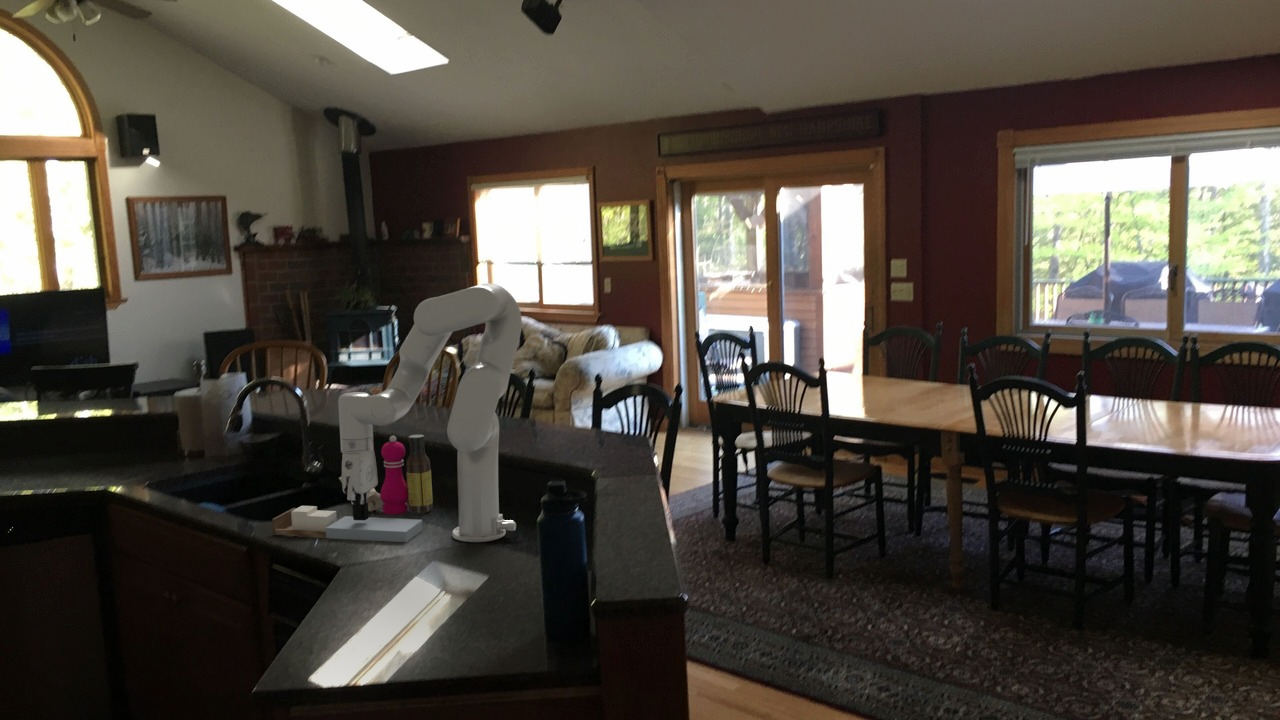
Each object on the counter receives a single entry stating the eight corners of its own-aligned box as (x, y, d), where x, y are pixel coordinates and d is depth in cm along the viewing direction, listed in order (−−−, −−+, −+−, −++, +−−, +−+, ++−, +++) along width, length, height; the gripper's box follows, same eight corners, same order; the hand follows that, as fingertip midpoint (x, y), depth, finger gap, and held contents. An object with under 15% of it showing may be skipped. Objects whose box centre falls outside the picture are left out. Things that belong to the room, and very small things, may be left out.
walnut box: (345, 526, 242) (344, 510, 241) (326, 538, 232) (325, 521, 232) (294, 523, 244) (293, 507, 244) (272, 535, 234) (272, 519, 234)
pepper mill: (400, 516, 250) (397, 439, 248) (375, 514, 253) (372, 437, 250) (414, 509, 257) (412, 433, 255) (390, 506, 259) (388, 432, 257)
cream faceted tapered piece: (373, 487, 277) (395, 512, 255) (343, 498, 274) (364, 525, 252) (364, 458, 275) (386, 482, 253) (334, 469, 271) (353, 494, 249)
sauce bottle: (430, 506, 260) (428, 432, 257) (434, 512, 254) (432, 437, 251) (406, 508, 257) (403, 434, 255) (409, 515, 252) (406, 438, 249)
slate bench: (422, 529, 239) (422, 519, 238) (406, 542, 229) (406, 531, 229) (345, 526, 242) (345, 516, 242) (326, 538, 232) (325, 527, 232)
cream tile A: (337, 527, 240) (336, 511, 239) (327, 533, 235) (326, 516, 234) (317, 526, 241) (317, 510, 240) (307, 532, 236) (307, 515, 235)
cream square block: (316, 506, 240) (301, 505, 240) (306, 511, 235) (291, 511, 236) (317, 526, 240) (302, 525, 241) (307, 532, 236) (292, 531, 236)
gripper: (357, 451, 225) (362, 529, 228) (385, 438, 240) (388, 511, 242) (327, 450, 227) (331, 528, 229) (356, 437, 241) (360, 510, 244)
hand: (361, 519), depth 236 cm, fingers closed
